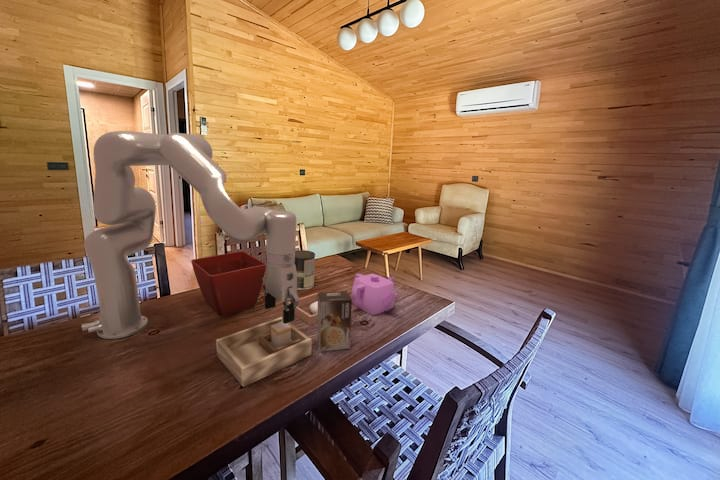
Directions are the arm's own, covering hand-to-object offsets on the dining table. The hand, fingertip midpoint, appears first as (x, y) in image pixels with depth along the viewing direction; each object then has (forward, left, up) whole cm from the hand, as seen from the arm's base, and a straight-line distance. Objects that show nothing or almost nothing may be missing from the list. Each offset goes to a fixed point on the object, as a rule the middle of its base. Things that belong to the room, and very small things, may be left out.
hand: (279, 314), depth 90 cm
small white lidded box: (0, 0, -10) cm, 10 cm away
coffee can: (+31, +33, -11) cm, 47 cm away
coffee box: (+13, -9, -11) cm, 19 cm away
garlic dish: (+21, +11, -11) cm, 26 cm away
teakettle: (+42, +1, -11) cm, 44 cm away
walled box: (-5, -1, -11) cm, 12 cm away
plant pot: (0, +33, -11) cm, 35 cm away
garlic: (+23, +10, -11) cm, 28 cm away
